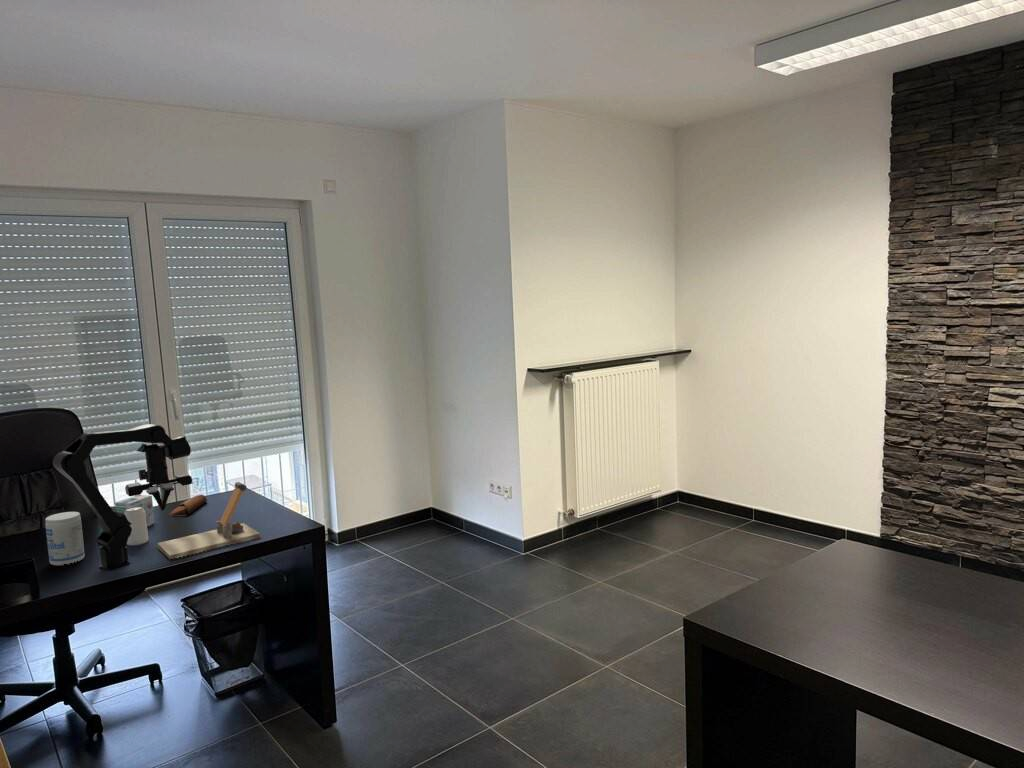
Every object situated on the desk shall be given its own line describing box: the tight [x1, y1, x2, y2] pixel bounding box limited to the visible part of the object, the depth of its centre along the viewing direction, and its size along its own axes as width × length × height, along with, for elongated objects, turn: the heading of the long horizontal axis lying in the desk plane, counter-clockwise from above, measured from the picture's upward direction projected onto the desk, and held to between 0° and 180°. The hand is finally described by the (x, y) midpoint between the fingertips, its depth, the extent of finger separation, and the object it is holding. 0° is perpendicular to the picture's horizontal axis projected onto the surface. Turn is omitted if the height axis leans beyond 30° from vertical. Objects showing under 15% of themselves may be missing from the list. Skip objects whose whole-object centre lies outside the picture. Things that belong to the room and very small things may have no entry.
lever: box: [219, 481, 247, 525], centre depth 241 cm, size 2×6×14 cm, turn 39°
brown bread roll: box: [168, 494, 208, 516], centre depth 277 cm, size 18×7×7 cm
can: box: [124, 506, 149, 547], centre depth 239 cm, size 6×6×12 cm
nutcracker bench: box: [157, 520, 261, 560], centre depth 236 cm, size 28×16×6 cm, turn 129°
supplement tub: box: [45, 511, 86, 566], centre depth 225 cm, size 10×10×15 cm
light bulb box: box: [114, 494, 155, 527], centre depth 257 cm, size 11×7×11 cm, turn 161°
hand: (162, 510), depth 230 cm, fingers closed
